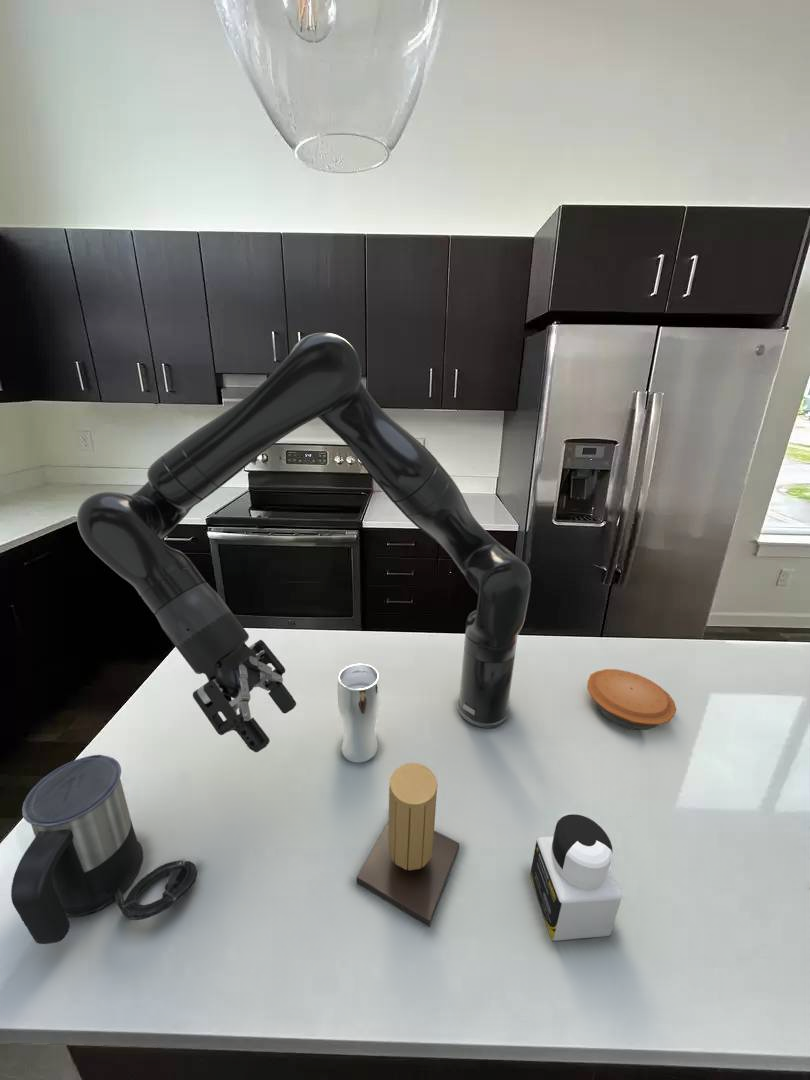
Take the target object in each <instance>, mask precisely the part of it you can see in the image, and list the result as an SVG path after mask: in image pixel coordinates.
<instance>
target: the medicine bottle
mask: <svg viewBox="0 0 810 1080" xmlns="http://www.w3.org/2000/svg"><path fill="white" fill-rule="evenodd" d="M535 841H536V842H535V846H534V852H533V857H532V863H531V867H530V872H529V873H530V875H529V877H530V879H531V882H532V886H533V889H534V892H535V895H536V898H537V901H538V904H539V907H540V911H541V914H542V916H543V918H544V922H545V924H546V928H547V931H548V934H549V937H550V939H551V940H552V941H553V942H559V941H568V940H581V939H589V938H590V939H591V938H600V937H601V938H602V937H609V936H611V935H612V930H613V927H614V925H615V921H616V917H617V914H618V912H619V908H620V904H621V901H622V898H623V895H622V892H621V891H620V888H619V887H618V885H617V883H616V880H615V878H614V876H613V874H612V872H611V870H610V866H611V861H612V859H613V844H612V842H611V840H610V837H609V835H608V834H607V832H606V831H605V830H604V829H603V828H602V827H601V826H600V825H599V824H598V823H596V821H594V820H592V819H591V818H589V817H587V816H585V815H582V814H577V813H576V814H574V813H570V814H567V815H563V816H562V817H560V818H559V819H558V821H557V822H556V825H555V829H554V833H553V835H551V836H549V835H548V836H538V837H536V840H535Z"/></svg>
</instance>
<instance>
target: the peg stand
mask: <svg viewBox="0 0 810 1080" xmlns="http://www.w3.org/2000/svg"><path fill="white" fill-rule="evenodd" d="M388 824H389V820H388V821H387V823H386V824H385V826H384V828H383V830H382V831H381V833H380V835H379V836H378V838H377V840H376V842H375V844H374V845H373V847H372V849H371V851H370V853H369V854H368V856H367V858H366V860H365V862H364V863H363V865H362V866H361V869H360V870H359V872H358V874H357V875H356V884H357V885H359V886H360V887H362V888H364V889H365V890H367V891H368V892H370V893H372V894H374V895H375V896H377V897H379V898H380V899H382V900H384V901H385V902H387V903H389V904H390V905H392V906H394V907H395V908H397V909H398V910H400V911H402V912H403V913H405V914H407V915H409V916H410V917H412V918H413V919H415V920H416V921H418V922H420V923H422V924H423V925H425V926H426V927H428V928H430V927H431V924H432V922H433V919H434V917H435V914H436V911H437V910H438V907H439V903H440V900H441V898H442V896H443V894H444V890H445V888H446V885H447V883H448V880H449V877H450V874H451V872H452V869H453V867H454V865H455V861H456V859H457V856H458V854H459V851H460V843H459V842H458V841H456V840H454V839H452V838H450V837H448V836H446V835H444V834H442V833H440V832H439V831H436V830H434V839H433V851H432V857H431V859H430V860H429V861H428V862H427V863H426V865H425V866H424V867H423V868H422V867H421V869H415V870H408V868H407V870H405V869H403V868H402V867H400V866H398V865H396V864H395V862H393V860H392V858H391V855H390V853H389V851H388Z"/></svg>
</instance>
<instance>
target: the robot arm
mask: <svg viewBox="0 0 810 1080" xmlns="http://www.w3.org/2000/svg"><path fill="white" fill-rule="evenodd" d="M362 372H363V371H362V363H361V360H360V357H359V354H358V353H357V351H356V349H355V348H354V346H353V345H352V344H351V343H350V342H348V341H347V339H345V338H343V337H341V336H340V335H338V334H334V333H331V332H314V333H311V334H308V335H306V336H304V337H302V338H301V339H300V340H298V342H296V343H295V344H294V346H293V348H292V349H291V350H290V352H289V354H288V356H287V357H286V358H285V359H284V360H283V361H282V362H281V363H280V364H279V365H278V366H277V367H276V369H275V370H274V371H273V372H272V373H271V374H270V375H268V377H267V378H266V379H265V380H264V381H262V383H261V384H260V385H258V386H257V387H256V388H255V389H254V390H253V391H251V392H250V393H249V394H248V395H246V396H245V397H244V398H243V399H241V400H239V402H237V403H236V404H234V405H233V406H232V407H230V408H228V409H227V410H226V411H224V412H223V413H222V414H220V415H218V416H217V417H216V418H213V419H212V420H211V421H209V422H208V423H206V424H204V425H203V426H202V427H200V428H198V429H197V430H195V431H194V432H193V433H191V434H189V436H187V437H186V438H184V439H183V440H181V441H180V442H179V443H178V444H176V445H174V447H172V448H171V449H170V450H168V451H167V452H165V453H164V454H163V455H161V456H160V457H158V458H157V459H156V460H155V461H154V462H152V463H151V465H150V466H149V468H148V469H147V473H146V475H147V480H148V481H146V482H145V484H144V485H143V486H142V487H141V488H139V489H138V490H137V491H135V492H134V493H132V494H126V493H120V492H115V491H114V492H113V491H107V492H105V491H104V492H98V493H95V494H92V495H90V496H89V497H87V498H86V499H84V501H83V502H82V503H81V504H80V506H79V508H78V510H77V514H76V523H77V524H76V525H77V528H78V531H79V534H80V536H81V538H82V539H83V541H84V543H85V544H86V546H87V547H88V548H89V550H91V551H92V552H93V553H94V555H96V556H97V557H98V559H100V560H101V561H102V562H103V563H104V564H105V565H107V566H108V567H109V568H110V569H111V570H113V571H114V573H116V574H117V575H118V576H120V577H121V578H122V579H123V580H125V581H126V582H128V583H129V584H130V585H131V586H132V587H133V588H134V589H135V590H136V592H137V593H138V595H139V597H140V598H141V599H142V600H143V602H144V603H145V604H146V606H147V607H148V608H149V610H150V611H151V612H152V614H153V615H154V616H155V618H156V619H157V622H158V623H159V625H160V627H161V629H162V631H163V632H164V633H165V635H166V637H168V639H169V640H170V641H171V643H172V644H173V645H174V647H175V648H176V649H177V650H178V652H179V654H180V655H181V656H182V657H183V659H184V660H185V661H186V663H187V664H188V665H189V667H190V668H191V669H192V671H193V672H194V673H195V674H197V675H201V674H204V675H205V676H206V678H207V682H206V683H204V684H203V685H201V687H199V688H197V689H196V690H194V691H193V692H192V698H193V699H194V701H195V702H196V704H197V705H198V707H199V709H200V710H201V711H202V712H203V714H204V715H205V717H206V718H207V720H208V721H209V722H210V724H211V725H212V727H213V729H214V730H215V732H216V733H217V734H218V735H219V736H223V735H225V734H226V733H229V732H232V731H234V732H236V733H237V734H238V736H239V737H240V738H241V739H242V741H243V742H244V744H245V745H246V746H247V748H248V749H249V750H251V751H252V752H254V753H259V752H260V751H262V750H264V749H265V748H266V747H267V746H268V745H269V744H270V742H271V740H270V738H269V736H268V735H267V734H266V732H265V731H264V730H263V728H262V727H261V726H260V724H259V723H258V722H257V721H256V719H255V718H254V717H252V715H251V710H250V705H249V703H250V700H251V693H250V692H252V690H254V688H261V689H262V690H265V691H267V692H268V693H267V695H269V697H270V698H271V700H272V701H273V702H274V704H275V705H276V706H277V708H278V709H279V710H280V712H281V713H282V714H287V713H289V712H291V711H292V710H293V709H295V707H296V706H297V702H296V700H295V699H294V697H293V695H292V694H291V693H290V691H289V689H288V688H287V687H286V686H285V684H284V683H283V682H284V679H283V678H284V677H283V675H284V674H285V673H286V668H285V666H284V665H283V664H282V663H281V661H280V660H279V659H278V658H277V657H276V655H275V654H274V653H273V651H272V650H271V648H270V647H268V645H267V644H266V642H265V641H264V640H263V639H259V640H257V641H256V642H254V643H252V644H251V645H250V646H248V645H247V644H246V643H247V641H248V640H249V639H250V636H249V635H250V634H249V633H248V631H246V629H245V628H244V626H243V625H242V624H241V622H240V621H239V620H238V618H237V617H236V616H235V615H234V613H233V612H232V610H231V609H230V608H229V606H228V605H227V604H226V602H225V601H224V600H223V599H222V597H221V596H220V594H219V593H218V592H217V591H216V590H215V589H214V588H213V587H212V586H211V585H210V584H209V583H208V582H207V580H206V579H205V577H204V576H203V575H202V574H201V572H200V571H199V570H198V568H197V567H196V566H195V564H194V563H193V561H192V560H191V559H190V558H189V557H188V556H187V555H186V554H185V553H184V552H182V551H181V550H178V549H175V548H172V547H170V546H169V545H168V544H167V543H166V542H165V541H164V540H163V539H164V538H165V537H166V536H167V535H169V534H170V533H171V532H172V531H173V530H174V529H175V528H176V526H178V525H179V524H180V523H181V522H182V520H183V519H185V517H186V516H187V515H188V514H189V513H190V511H191V510H192V509H193V508H194V507H195V506H197V505H198V504H199V503H201V502H202V501H204V500H205V499H206V498H208V497H209V496H210V495H212V494H213V493H215V492H216V491H217V490H218V489H220V488H221V487H222V486H225V484H226V483H228V482H229V481H230V480H231V479H232V478H234V477H235V476H236V475H238V473H240V472H241V471H242V470H244V469H245V468H246V467H247V466H248V465H249V464H250V463H252V462H253V461H255V459H257V458H258V457H260V455H262V454H263V453H264V452H266V451H267V450H269V448H271V447H272V446H273V445H275V444H276V443H277V442H279V441H280V440H282V439H283V438H285V437H286V436H287V435H289V434H290V433H292V432H293V431H295V430H297V429H299V428H300V427H302V426H304V425H305V424H308V423H309V422H311V421H314V420H315V419H320V420H321V421H322V422H323V423H324V424H325V425H326V426H328V428H329V429H330V430H332V431H333V432H334V433H335V434H336V435H337V436H338V437H339V438H340V439H341V440H342V441H343V442H344V443H345V445H347V447H348V448H350V450H351V451H352V452H353V454H354V455H355V456H356V458H357V459H358V460H359V461H360V463H361V465H362V466H363V467H364V469H365V470H366V472H367V473H368V474H369V475H370V477H371V478H372V479H373V480H374V482H375V483H376V484H377V485H378V487H379V488H380V489H381V490H382V492H383V493H384V494H385V495H386V496H387V498H388V499H389V500H390V501H391V502H392V504H394V506H395V507H397V508H398V510H399V511H400V512H401V513H402V514H403V515H404V516H405V517H406V519H408V520H409V521H410V522H411V523H412V524H413V525H415V526H416V527H417V528H418V529H419V530H421V532H423V533H424V534H425V535H426V536H428V537H429V538H431V539H432V540H434V541H435V542H436V543H437V544H439V545H440V546H441V547H442V549H444V551H445V552H446V553H447V554H448V555H449V557H450V558H451V560H452V561H453V562H454V564H455V565H456V566H457V569H458V570H459V571H460V572H461V573H462V575H463V576H464V578H465V580H466V582H467V583H468V585H469V586H470V587H471V588H472V590H474V592H475V593H476V594H477V603H476V609H475V610H473V611H472V612H470V613H469V614H468V615H467V617H466V621H465V631H464V643H463V653H462V654H463V655H462V665H461V677H460V689H459V699H458V706H457V709H458V713H459V715H460V717H461V718H463V720H465V721H466V722H467V723H469V724H470V725H473V726H475V727H479V728H485V729H491V728H497V727H499V726H501V725H503V724H504V723H505V722H506V720H507V718H508V713H509V702H510V696H511V695H510V694H511V687H512V680H513V672H514V666H515V659H516V652H517V651H516V650H517V643H518V637H519V632H520V631H521V630H522V628H523V626H524V623H525V621H526V616H527V611H528V606H529V601H530V596H531V589H532V573H531V571H530V568H529V566H528V565H527V564H526V563H525V561H524V560H522V559H521V558H520V557H518V556H517V555H516V554H514V553H513V552H512V551H510V550H509V549H508V548H507V547H505V545H503V544H502V543H500V542H499V541H498V540H496V539H495V538H494V537H493V536H492V535H491V534H490V533H489V532H488V531H487V530H486V529H485V528H484V527H483V526H482V525H481V524H480V522H478V521H477V519H476V518H475V517H474V515H473V513H472V512H471V510H470V508H469V506H468V504H467V501H466V500H465V498H464V496H463V494H462V492H461V490H460V489H459V486H458V485H457V483H456V482H455V480H454V479H453V477H451V475H450V474H449V473H448V472H447V470H446V469H445V468H444V467H443V465H442V464H441V463H440V462H439V461H438V459H437V458H436V457H435V456H434V455H433V453H431V452H430V451H429V449H428V448H426V446H424V444H422V442H420V441H419V440H417V438H415V437H414V436H413V435H412V434H411V433H409V431H408V430H406V429H405V428H404V427H402V426H401V425H400V424H398V422H396V421H395V420H394V419H393V418H391V417H390V416H389V414H387V413H386V412H385V411H384V410H383V409H382V407H380V405H379V404H378V403H377V402H376V400H375V399H374V398H373V396H372V395H371V393H370V392H369V391H368V389H367V388H366V386H365V385H364V384H363V383H362V374H363V373H362ZM269 664H271V665H272V666H269ZM272 667H273V668H274V669H273V668H272ZM219 712H220V713H222V715H223V717H224V718H225V720H223V718H222V717H221V715H220V714H219ZM238 712H239V713H238Z"/></svg>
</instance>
